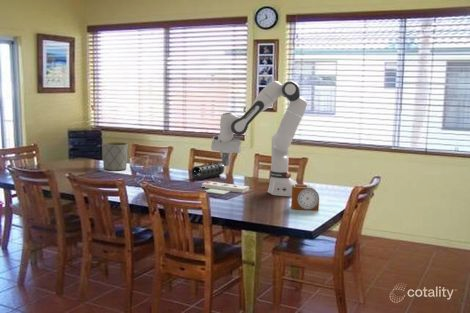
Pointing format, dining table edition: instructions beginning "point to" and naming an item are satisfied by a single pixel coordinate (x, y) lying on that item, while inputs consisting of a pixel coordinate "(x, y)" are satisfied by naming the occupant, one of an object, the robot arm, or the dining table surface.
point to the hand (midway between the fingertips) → (225, 158)
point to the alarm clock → (304, 197)
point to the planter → (115, 155)
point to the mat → (217, 191)
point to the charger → (225, 159)
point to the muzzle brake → (207, 170)
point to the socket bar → (225, 187)
